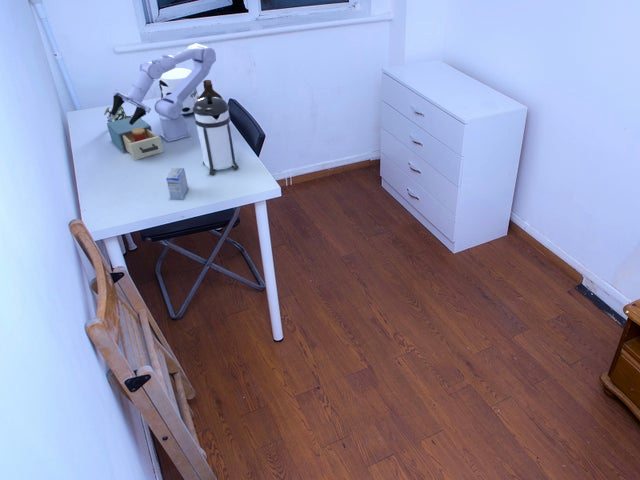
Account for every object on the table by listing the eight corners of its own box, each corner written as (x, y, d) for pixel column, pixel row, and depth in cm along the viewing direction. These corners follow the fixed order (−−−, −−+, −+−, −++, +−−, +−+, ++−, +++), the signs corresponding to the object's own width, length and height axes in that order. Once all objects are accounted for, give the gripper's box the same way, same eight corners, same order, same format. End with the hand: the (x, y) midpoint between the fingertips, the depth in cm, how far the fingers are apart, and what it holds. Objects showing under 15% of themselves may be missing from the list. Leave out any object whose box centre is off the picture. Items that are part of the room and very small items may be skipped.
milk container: (209, 111, 260) (202, 74, 250) (175, 121, 250) (166, 82, 239) (190, 101, 270) (183, 64, 259) (156, 110, 259) (147, 72, 249)
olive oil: (204, 133, 241) (194, 77, 227) (229, 131, 243) (221, 76, 229) (203, 143, 233) (192, 86, 218) (229, 142, 235) (220, 85, 220)
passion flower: (115, 138, 246) (102, 113, 244) (139, 128, 250) (126, 104, 248) (114, 133, 236) (99, 107, 234) (139, 123, 240) (125, 97, 238)
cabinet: (155, 144, 231) (150, 125, 226) (123, 153, 224) (118, 134, 219) (142, 133, 239) (138, 115, 234) (112, 141, 231) (106, 123, 227)
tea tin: (146, 144, 226) (141, 126, 221) (151, 148, 223) (146, 130, 219) (134, 147, 223) (129, 129, 219) (139, 152, 221) (134, 133, 216)
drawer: (167, 155, 221) (164, 140, 218) (138, 163, 215) (134, 148, 211) (151, 141, 231) (147, 126, 227) (122, 148, 225) (118, 133, 221)
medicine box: (176, 188, 203) (171, 167, 197) (188, 188, 203) (184, 167, 198) (170, 199, 196) (165, 178, 191) (183, 199, 197) (178, 178, 191)
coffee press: (249, 161, 222) (239, 88, 204) (226, 179, 209) (213, 103, 192) (212, 153, 226) (199, 82, 209) (188, 170, 214) (172, 96, 196)
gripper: (118, 77, 212) (100, 107, 211) (152, 95, 214) (135, 125, 212) (125, 83, 219) (107, 112, 218) (158, 101, 220) (141, 130, 219)
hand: (121, 119), depth 215 cm, fingers open, 7 cm apart
